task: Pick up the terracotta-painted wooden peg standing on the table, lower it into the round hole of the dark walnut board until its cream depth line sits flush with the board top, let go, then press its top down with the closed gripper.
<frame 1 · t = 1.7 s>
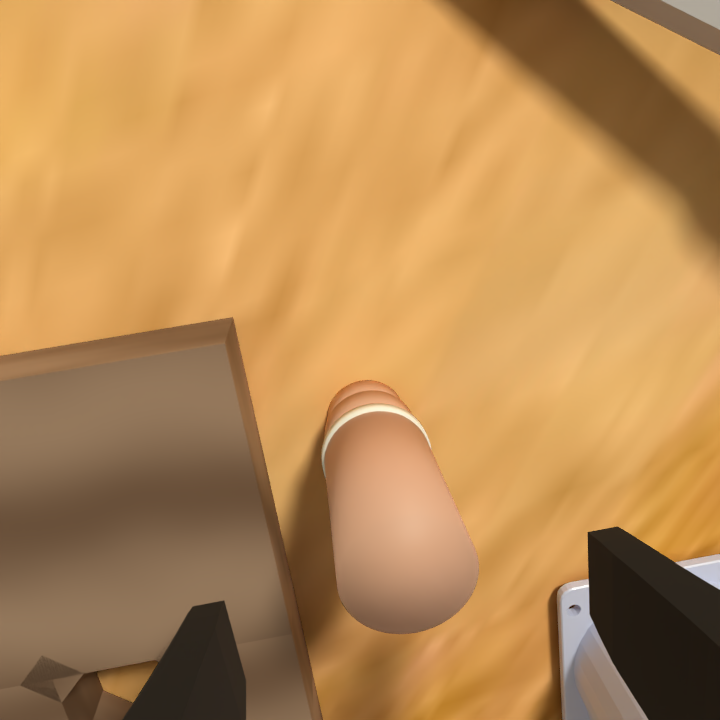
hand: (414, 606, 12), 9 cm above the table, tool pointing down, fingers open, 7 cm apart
board: (130, 590, 22), on the table
peg: (365, 416, 21), on the table
caliper: (658, 29, 18), on the table
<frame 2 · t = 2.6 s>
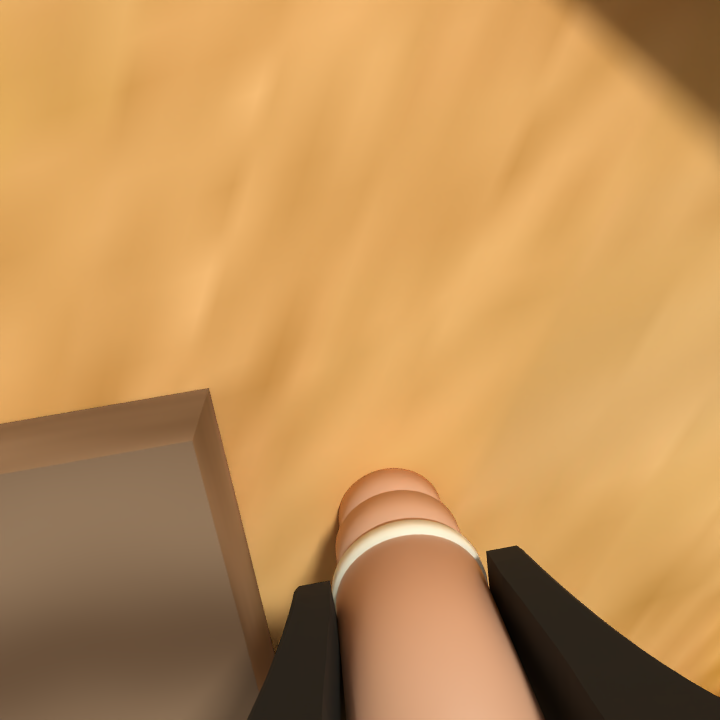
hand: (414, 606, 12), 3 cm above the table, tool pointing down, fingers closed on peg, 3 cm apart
peg: (390, 513, 15), on the table, touching gripper
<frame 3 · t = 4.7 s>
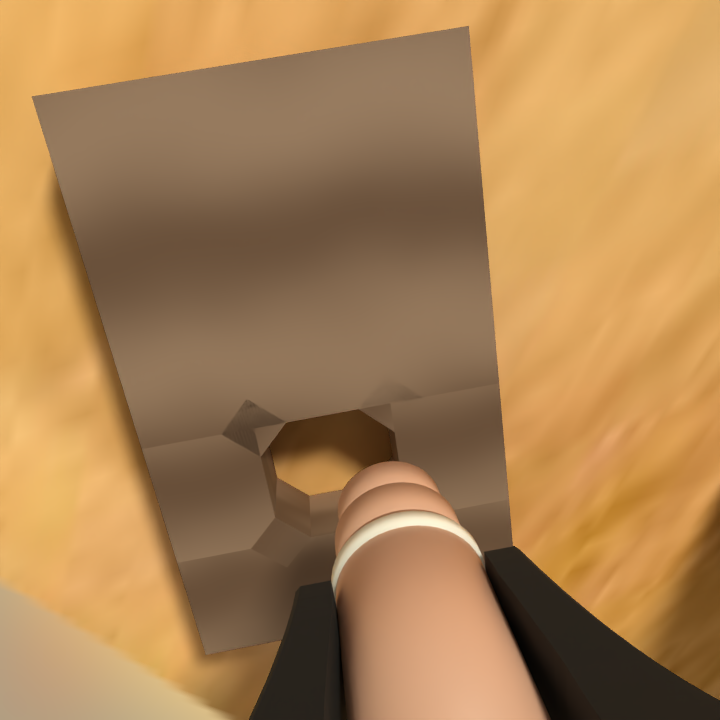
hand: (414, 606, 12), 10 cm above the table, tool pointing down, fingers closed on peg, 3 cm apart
board: (314, 360, 21), on the table
peg: (389, 507, 15), point 7 cm above the table, touching gripper
when the fingers open (4 cm above the table, at t = 6.6 s): peg stays where it is, resting in board.
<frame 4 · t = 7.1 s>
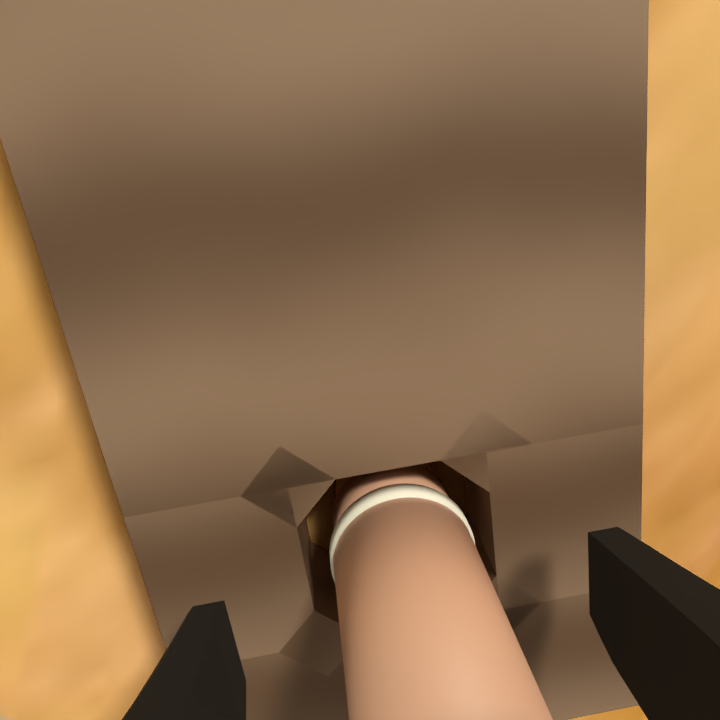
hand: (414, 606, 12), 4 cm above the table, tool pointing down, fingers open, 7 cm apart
board: (368, 385, 15), on the table
peg: (384, 485, 16), resting in board
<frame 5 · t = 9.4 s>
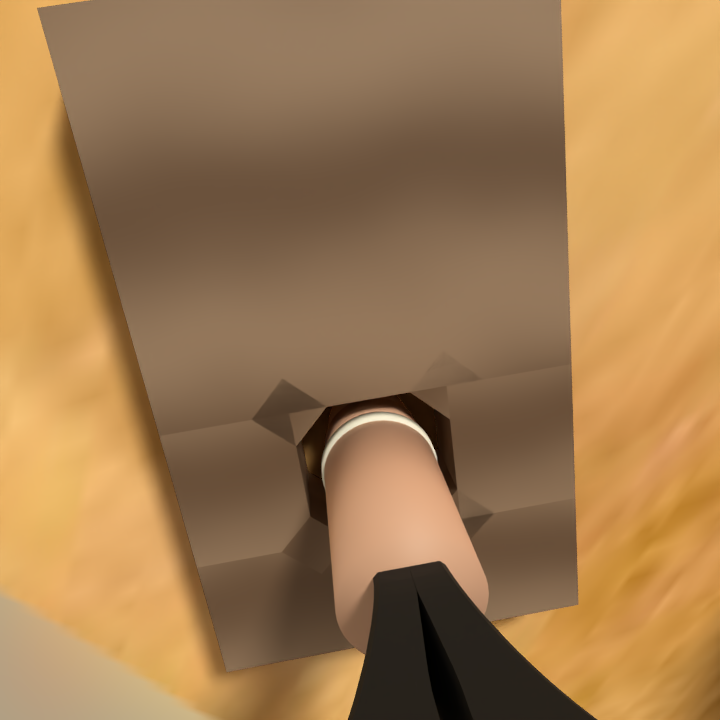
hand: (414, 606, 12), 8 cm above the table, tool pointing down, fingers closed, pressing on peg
board: (354, 338, 19), on the table
peg: (368, 423, 20), resting in board, touching gripper
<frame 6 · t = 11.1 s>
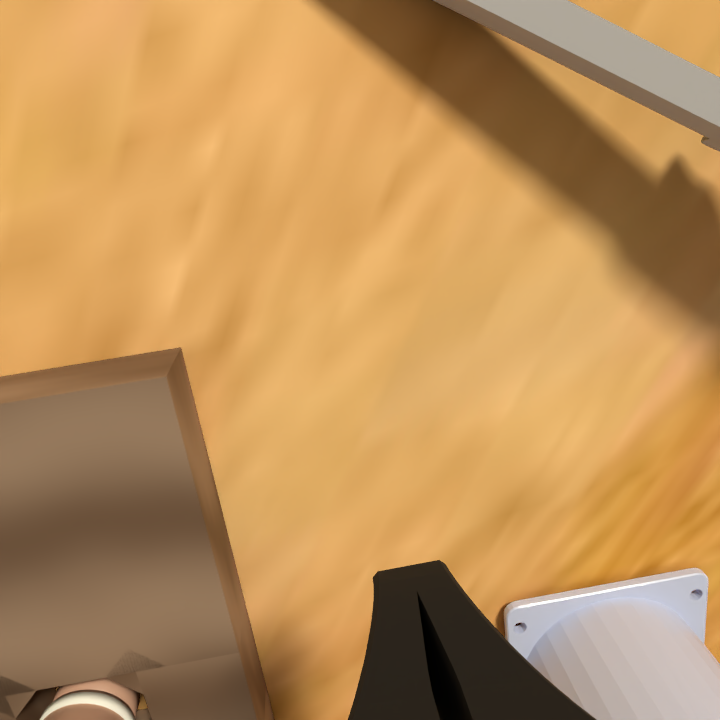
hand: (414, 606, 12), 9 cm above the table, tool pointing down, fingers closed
board: (86, 608, 23), on the table
peg: (108, 667, 24), resting in board
caliper: (582, 73, 19), on the table
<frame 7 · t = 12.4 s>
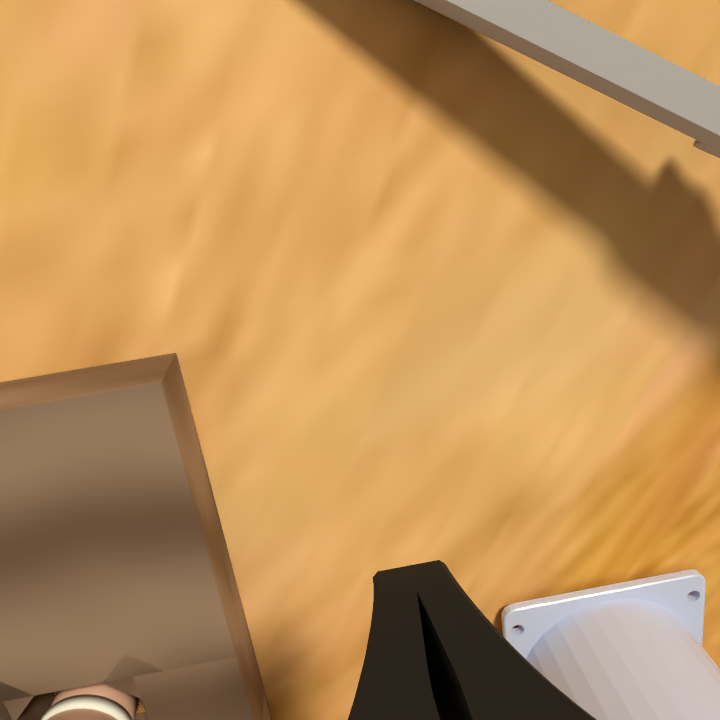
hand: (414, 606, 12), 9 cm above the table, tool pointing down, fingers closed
board: (83, 612, 23), on the table
peg: (106, 672, 24), resting in board
caliper: (574, 76, 19), on the table
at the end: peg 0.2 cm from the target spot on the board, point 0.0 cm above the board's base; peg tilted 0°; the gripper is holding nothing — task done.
